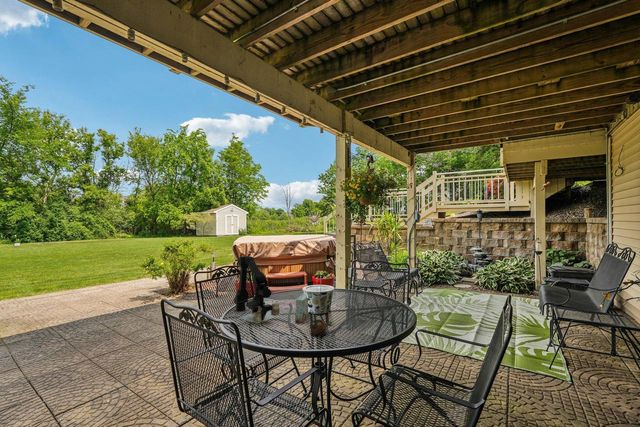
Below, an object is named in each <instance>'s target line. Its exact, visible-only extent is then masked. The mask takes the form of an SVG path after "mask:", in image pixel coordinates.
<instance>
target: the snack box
mask: <svg viewBox="0 0 640 427" xmlns="http://www.w3.org/2000/svg"><path fill="white" fill-rule="evenodd" d="M309 315H310V314H309V312H308V298H307V296H306V295H304V292H303V293H301V294H300V296H299V297H297V298H296V300H295V318H294V319H295V320H294V323H295V324H303V323H304V322H305V321H306V320H307V318H309Z"/></svg>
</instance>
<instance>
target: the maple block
mask: <svg viewBox="0 0 640 427" xmlns="http://www.w3.org/2000/svg"><path fill="white" fill-rule="evenodd" d="M264 320H265V318H264ZM264 320H263V322H265V321H264ZM253 321H255V322H258V324H260V323H263V322H262V319H261V312H260V311H258V312H255V313H253ZM259 322H260V323H259Z"/></svg>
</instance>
